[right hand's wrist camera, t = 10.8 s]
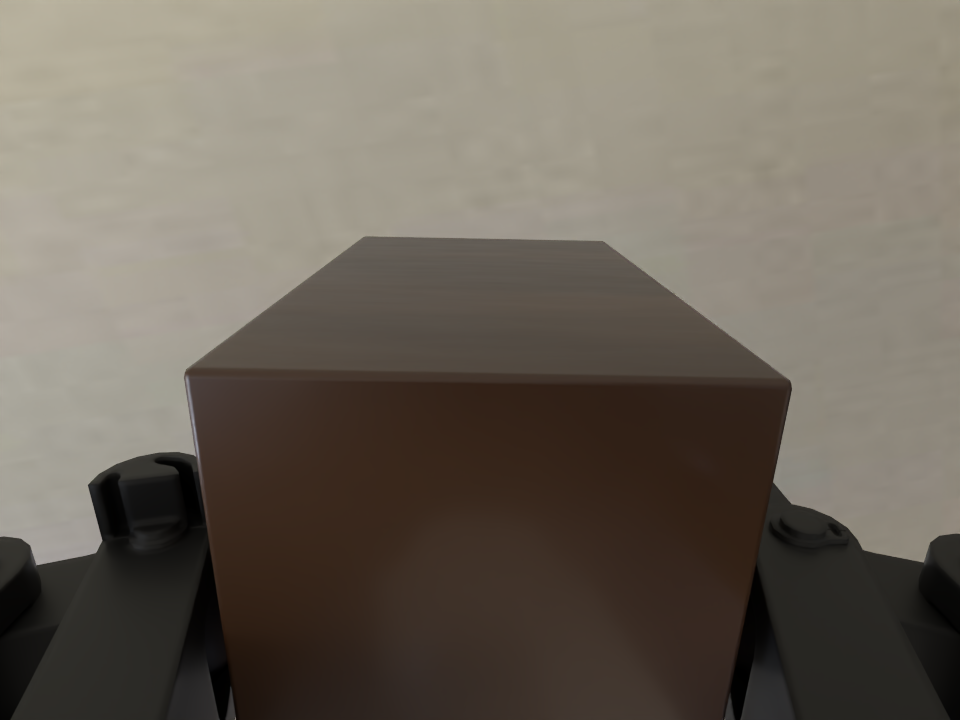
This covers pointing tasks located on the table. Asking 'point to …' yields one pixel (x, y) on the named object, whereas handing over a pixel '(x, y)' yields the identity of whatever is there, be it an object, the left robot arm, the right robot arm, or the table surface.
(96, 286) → the table surface
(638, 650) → the plank
